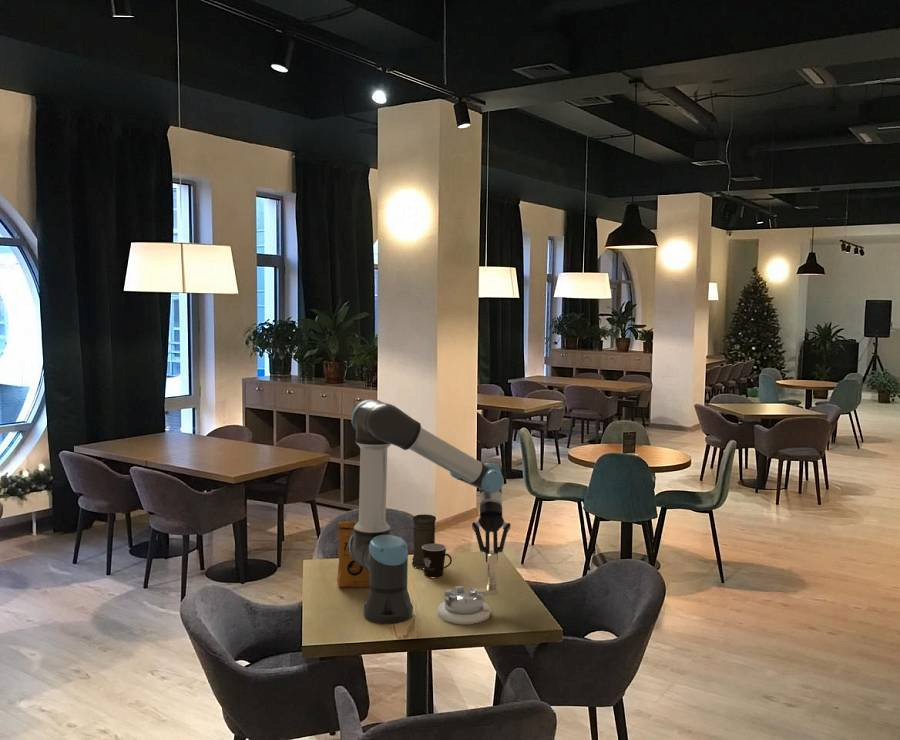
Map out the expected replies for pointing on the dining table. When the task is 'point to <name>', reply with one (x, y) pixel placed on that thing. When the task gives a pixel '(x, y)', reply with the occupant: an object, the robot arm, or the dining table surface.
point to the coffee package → (349, 560)
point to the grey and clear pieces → (473, 592)
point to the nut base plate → (463, 618)
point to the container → (422, 536)
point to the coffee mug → (434, 559)
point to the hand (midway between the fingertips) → (491, 570)
